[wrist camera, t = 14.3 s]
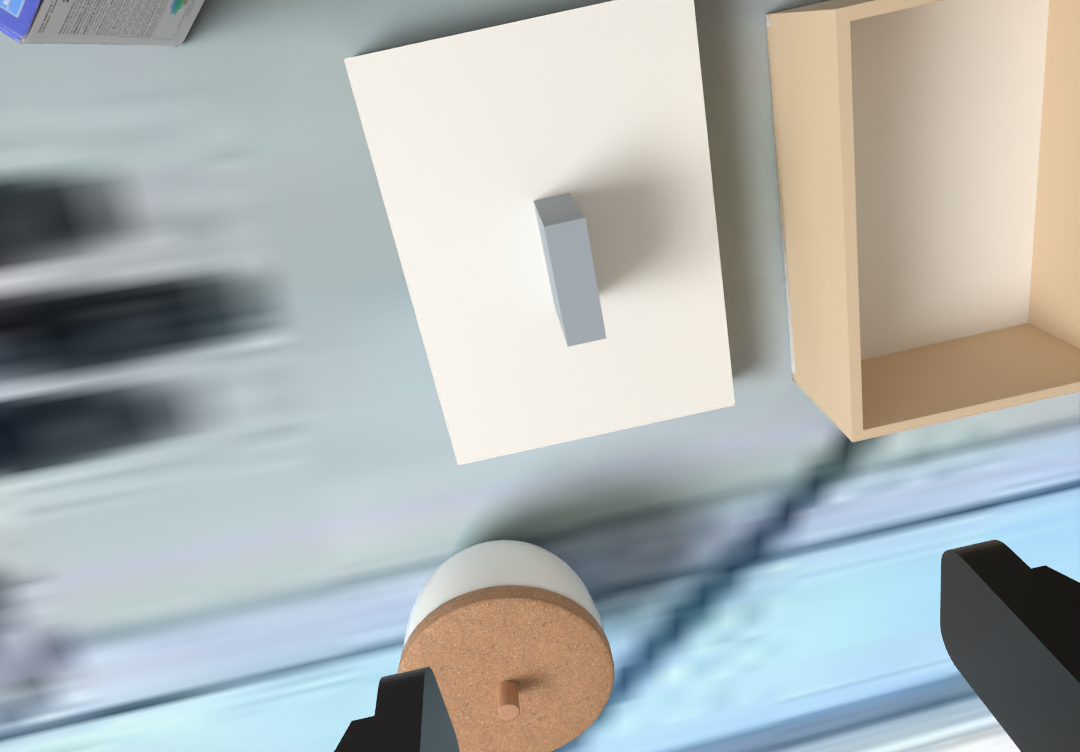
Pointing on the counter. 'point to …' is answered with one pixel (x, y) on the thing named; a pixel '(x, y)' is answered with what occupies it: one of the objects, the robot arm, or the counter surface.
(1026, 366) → the base
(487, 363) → the lid
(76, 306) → the counter surface
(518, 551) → the lidded jar
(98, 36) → the ink cartridge box
